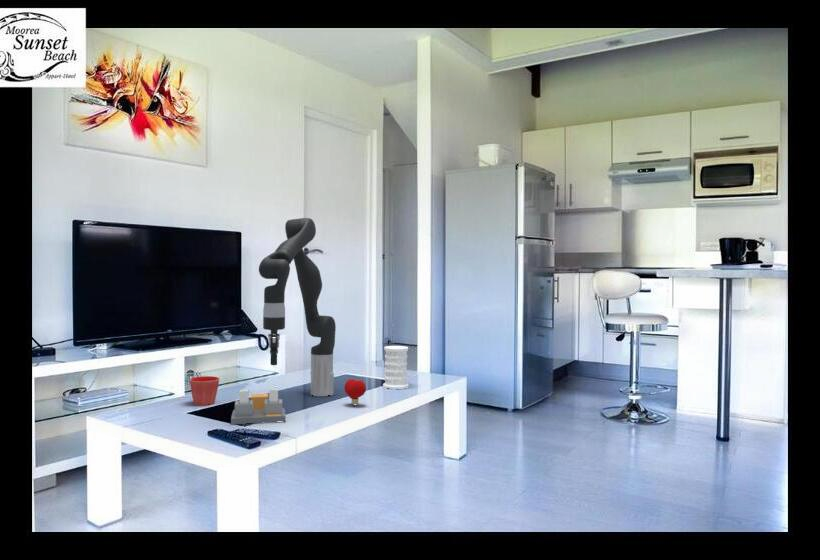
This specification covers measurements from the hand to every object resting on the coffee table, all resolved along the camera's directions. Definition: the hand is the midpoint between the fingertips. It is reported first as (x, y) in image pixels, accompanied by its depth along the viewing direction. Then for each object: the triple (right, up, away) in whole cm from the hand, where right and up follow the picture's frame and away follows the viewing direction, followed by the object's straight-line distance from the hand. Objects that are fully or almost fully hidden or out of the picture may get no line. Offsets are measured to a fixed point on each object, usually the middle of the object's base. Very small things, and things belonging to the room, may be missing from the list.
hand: (273, 363), depth 208 cm
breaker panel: (-5, -19, -1) cm, 20 cm away
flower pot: (-32, -19, +22) cm, 43 cm away
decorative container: (+42, -19, +58) cm, 74 cm away
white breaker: (0, -15, 0) cm, 15 cm away
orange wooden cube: (-8, -19, +12) cm, 24 cm away
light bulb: (+27, -19, +21) cm, 39 cm away
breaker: (-10, -15, -2) cm, 18 cm away
